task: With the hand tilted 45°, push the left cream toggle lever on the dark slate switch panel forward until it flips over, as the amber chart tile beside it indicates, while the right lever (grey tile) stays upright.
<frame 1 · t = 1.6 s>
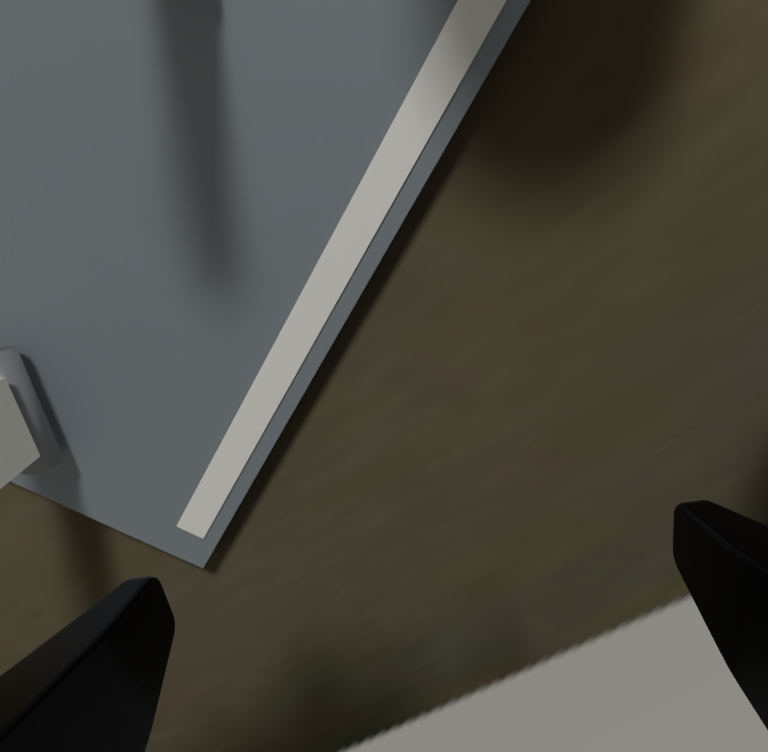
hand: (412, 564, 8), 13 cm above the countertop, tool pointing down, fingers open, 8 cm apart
switch panel: (159, 206, 19), on the countertop
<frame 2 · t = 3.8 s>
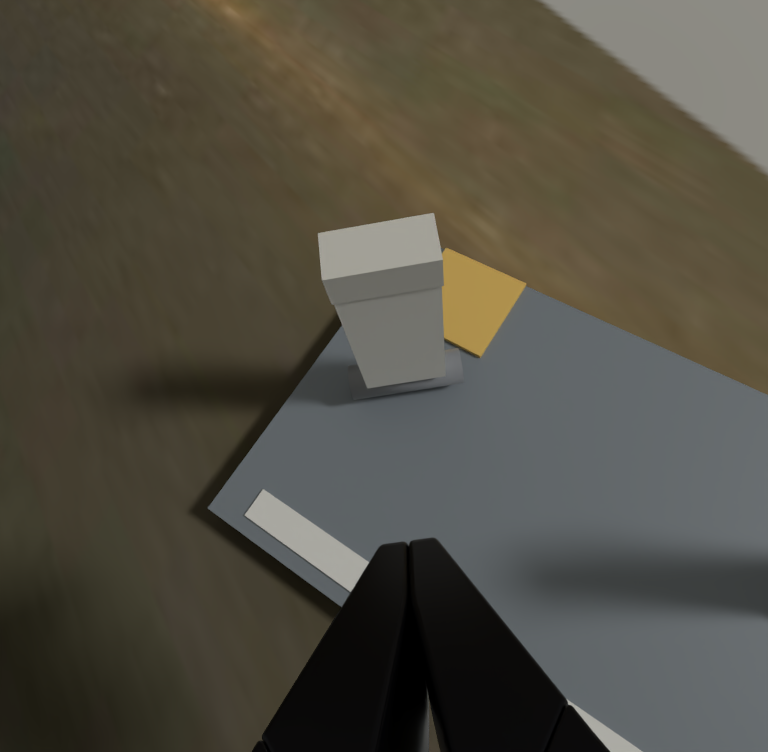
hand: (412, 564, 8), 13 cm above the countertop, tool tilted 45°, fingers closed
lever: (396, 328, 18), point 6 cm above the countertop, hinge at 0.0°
switch panel: (584, 520, 21), on the countertop
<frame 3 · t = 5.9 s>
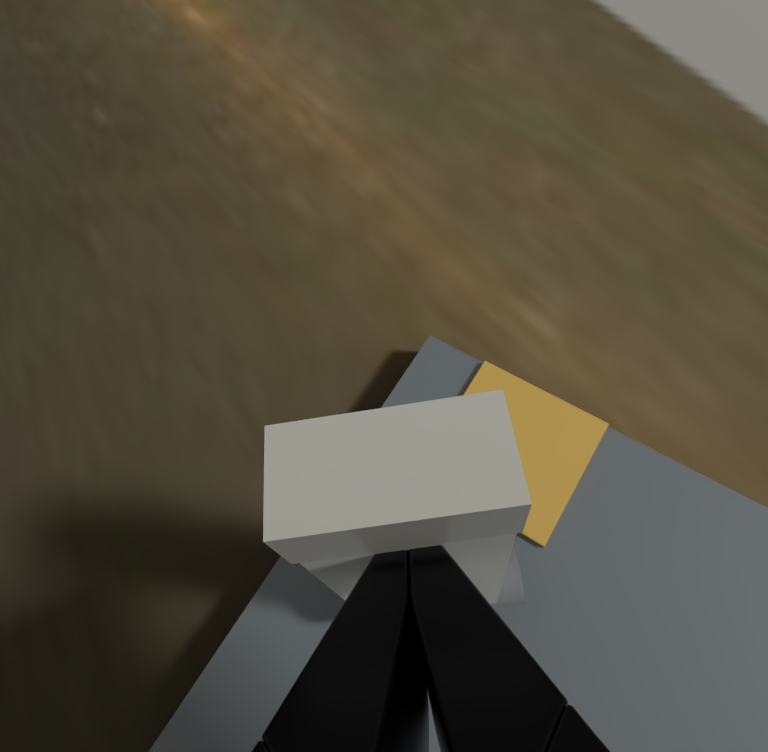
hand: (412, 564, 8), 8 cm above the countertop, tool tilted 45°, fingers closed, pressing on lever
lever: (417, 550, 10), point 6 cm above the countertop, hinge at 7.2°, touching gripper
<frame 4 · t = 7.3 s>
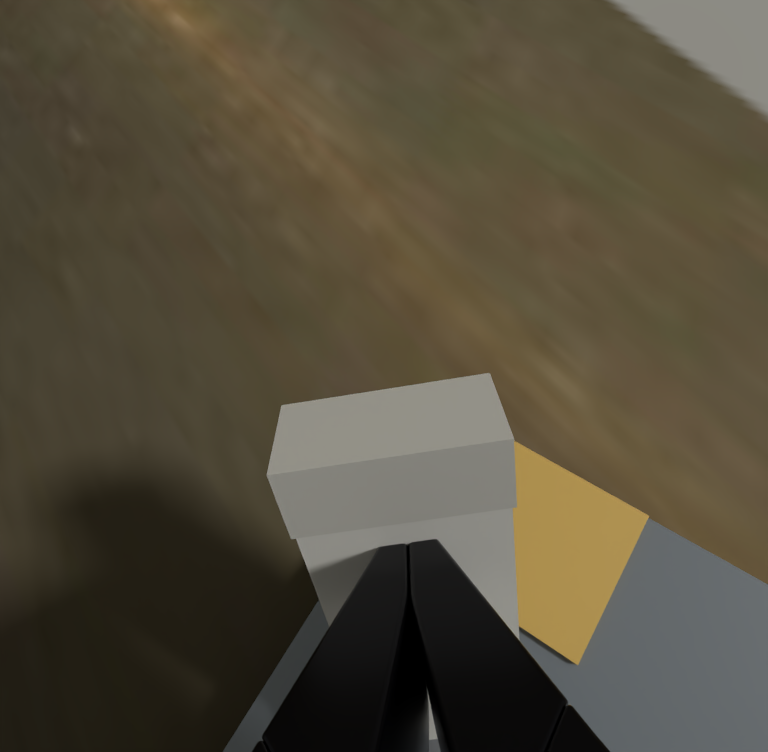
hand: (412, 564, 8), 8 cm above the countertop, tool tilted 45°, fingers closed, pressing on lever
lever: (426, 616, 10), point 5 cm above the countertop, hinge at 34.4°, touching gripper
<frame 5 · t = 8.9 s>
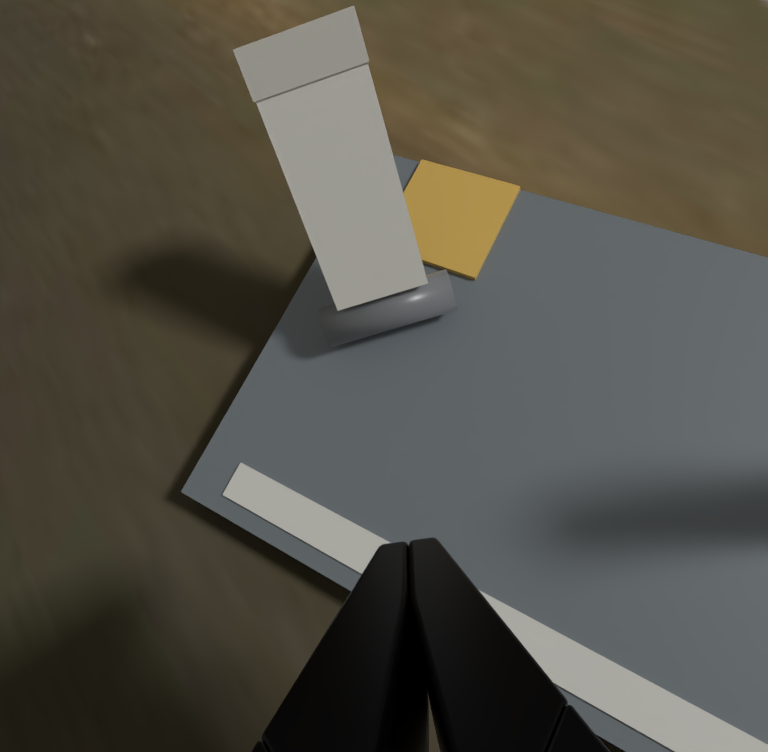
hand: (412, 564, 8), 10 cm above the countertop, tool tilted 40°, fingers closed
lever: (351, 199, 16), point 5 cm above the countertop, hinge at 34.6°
switch panel: (620, 454, 17), on the countertop
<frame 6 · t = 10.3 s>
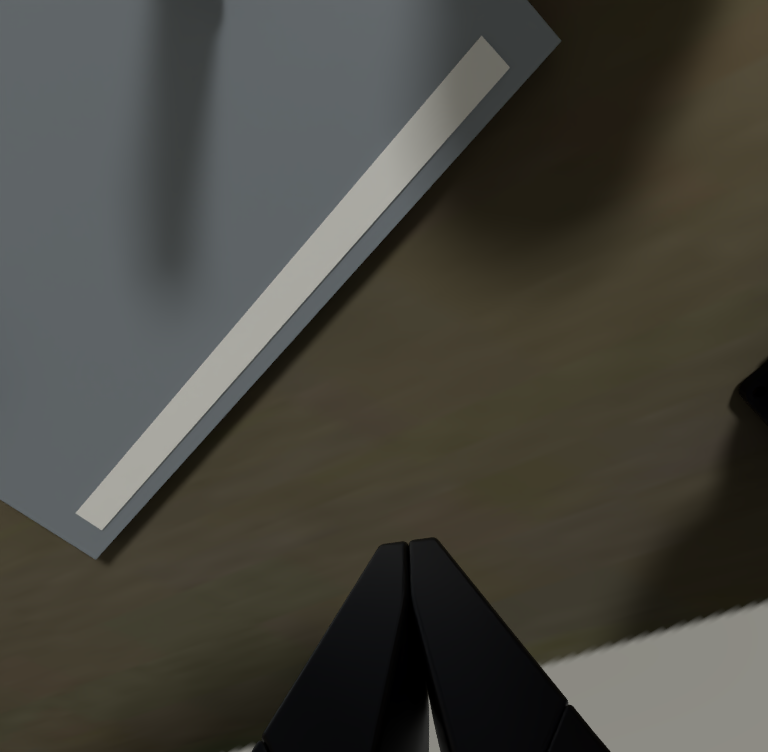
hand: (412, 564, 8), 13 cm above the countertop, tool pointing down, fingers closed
switch panel: (120, 189, 18), on the countertop
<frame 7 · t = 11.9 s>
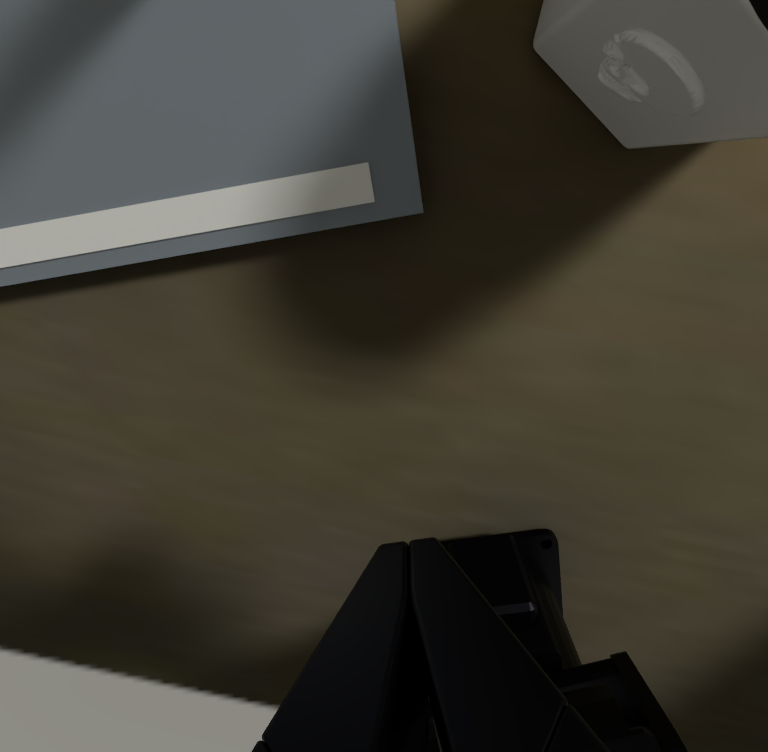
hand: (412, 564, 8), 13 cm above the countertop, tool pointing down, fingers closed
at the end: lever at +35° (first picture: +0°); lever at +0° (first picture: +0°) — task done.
